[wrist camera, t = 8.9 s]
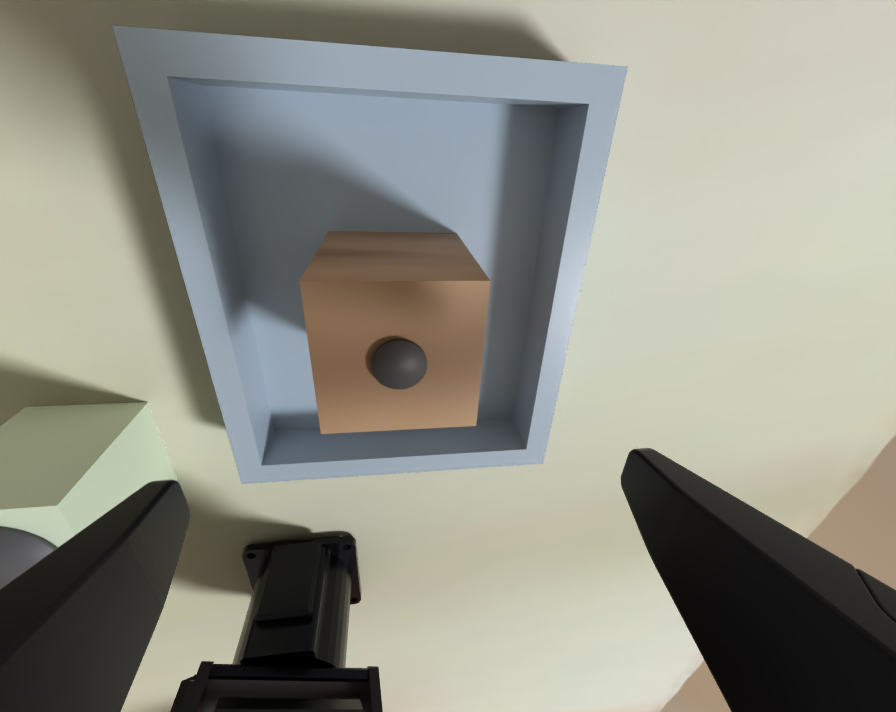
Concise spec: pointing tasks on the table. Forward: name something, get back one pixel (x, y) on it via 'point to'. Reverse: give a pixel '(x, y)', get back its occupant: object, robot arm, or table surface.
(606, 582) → the table surface
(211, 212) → the tray
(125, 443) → the sage block
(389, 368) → the walnut block
